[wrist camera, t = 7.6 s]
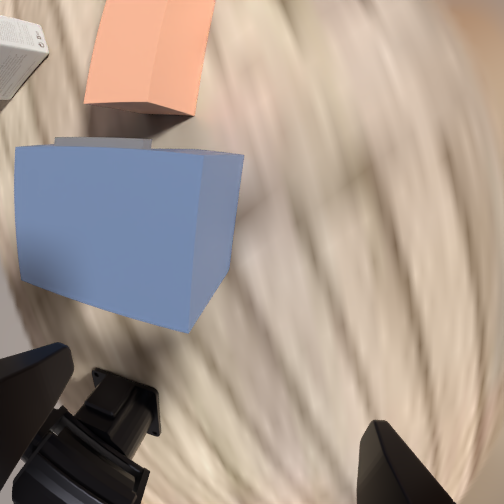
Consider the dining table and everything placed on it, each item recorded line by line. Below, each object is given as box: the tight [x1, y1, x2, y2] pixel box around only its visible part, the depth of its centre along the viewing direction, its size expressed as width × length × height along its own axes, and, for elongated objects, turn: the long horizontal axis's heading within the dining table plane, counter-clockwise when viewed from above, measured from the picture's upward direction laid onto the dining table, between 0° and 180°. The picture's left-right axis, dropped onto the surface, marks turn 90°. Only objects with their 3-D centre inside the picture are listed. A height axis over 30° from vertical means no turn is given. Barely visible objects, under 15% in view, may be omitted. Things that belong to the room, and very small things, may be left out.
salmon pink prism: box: [84, 0, 215, 116], centre depth 12 cm, size 13×4×6 cm, turn 172°
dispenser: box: [14, 137, 244, 334], centre depth 15 cm, size 7×10×8 cm
